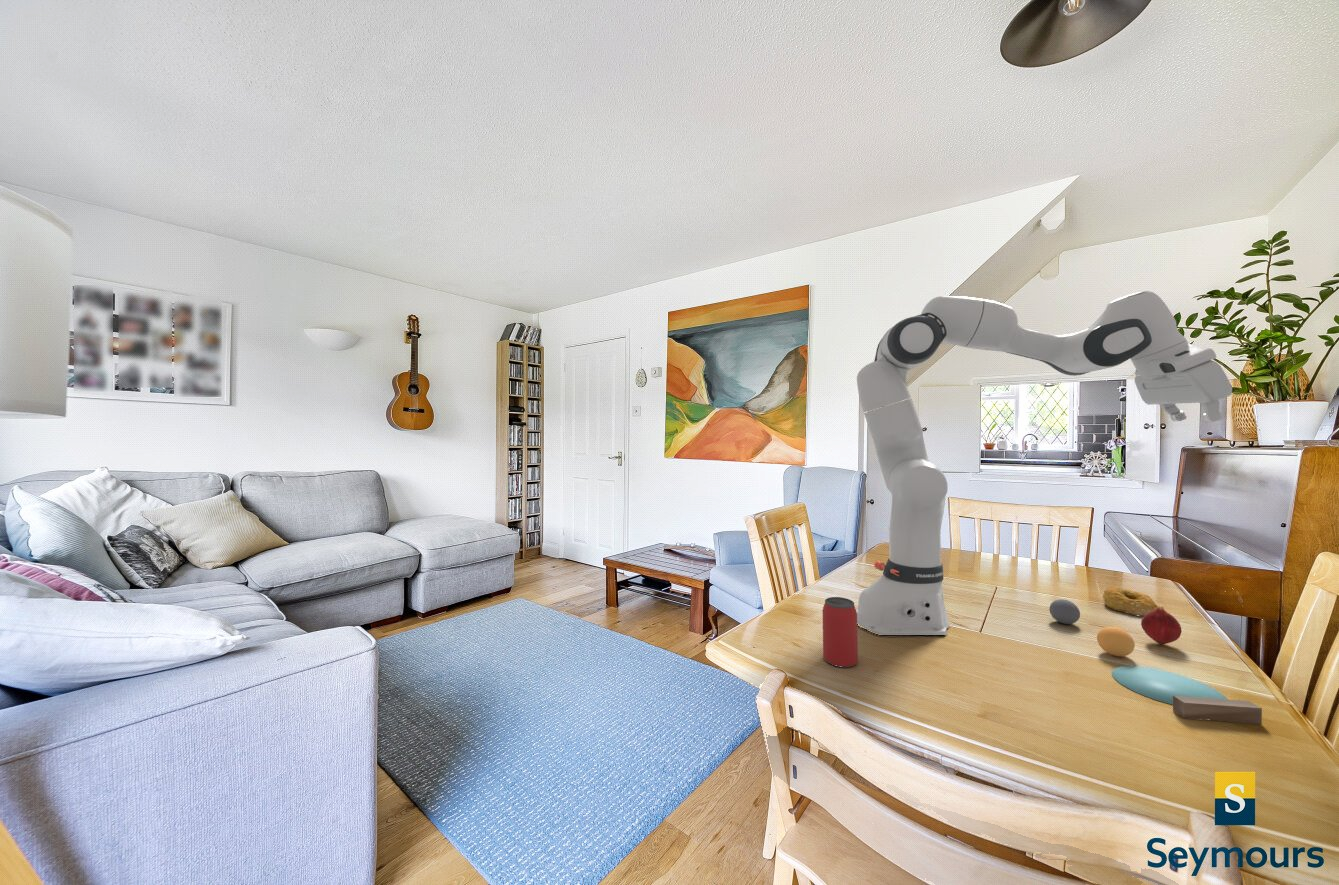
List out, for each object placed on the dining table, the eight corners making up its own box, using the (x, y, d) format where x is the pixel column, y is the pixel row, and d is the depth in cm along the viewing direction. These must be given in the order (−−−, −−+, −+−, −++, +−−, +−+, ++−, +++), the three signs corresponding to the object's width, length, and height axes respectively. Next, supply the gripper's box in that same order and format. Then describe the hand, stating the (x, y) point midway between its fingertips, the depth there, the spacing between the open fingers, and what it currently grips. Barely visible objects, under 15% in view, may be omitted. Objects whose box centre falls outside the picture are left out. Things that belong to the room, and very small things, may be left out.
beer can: (832, 650, 99) (831, 593, 99) (863, 660, 94) (862, 601, 94) (817, 661, 94) (816, 601, 94) (848, 672, 90) (848, 610, 90)
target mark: (1184, 714, 75) (1184, 713, 75) (1091, 671, 88) (1091, 670, 88) (1253, 704, 77) (1253, 703, 77) (1152, 663, 91) (1152, 662, 91)
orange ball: (1119, 662, 91) (1119, 634, 91) (1089, 650, 97) (1089, 623, 97) (1142, 660, 92) (1142, 632, 92) (1111, 647, 98) (1111, 621, 97)
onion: (1189, 651, 95) (1189, 612, 95) (1156, 649, 96) (1155, 610, 96) (1165, 639, 101) (1165, 602, 101) (1134, 637, 102) (1134, 600, 102)
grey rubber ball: (1066, 629, 107) (1066, 605, 107) (1043, 619, 112) (1043, 596, 112) (1086, 626, 108) (1086, 603, 108) (1062, 617, 113) (1062, 595, 113)
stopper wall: (1261, 724, 72) (1261, 708, 72) (1184, 718, 74) (1184, 702, 74) (1248, 716, 74) (1248, 700, 74) (1173, 711, 76) (1173, 695, 76)
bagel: (1115, 615, 115) (1115, 595, 115) (1095, 600, 125) (1095, 582, 125) (1170, 621, 111) (1170, 601, 111) (1144, 605, 121) (1144, 587, 121)
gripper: (1117, 373, 112) (1146, 425, 110) (1182, 363, 92) (1217, 427, 91) (1148, 360, 110) (1178, 414, 109) (1220, 348, 90) (1257, 413, 89)
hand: (1196, 420), depth 100 cm, fingers open, 8 cm apart
